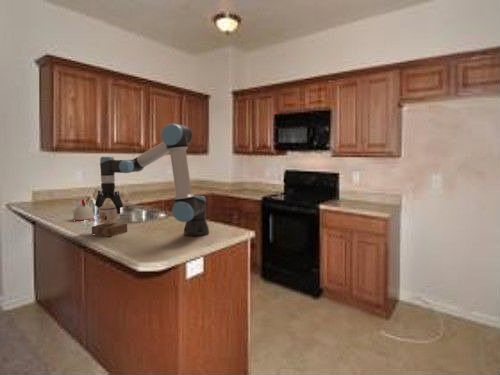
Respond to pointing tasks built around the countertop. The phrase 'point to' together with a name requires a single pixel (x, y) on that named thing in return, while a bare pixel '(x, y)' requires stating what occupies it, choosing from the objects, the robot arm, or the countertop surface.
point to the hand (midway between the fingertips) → (109, 218)
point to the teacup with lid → (107, 213)
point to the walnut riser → (109, 229)
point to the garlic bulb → (83, 212)
